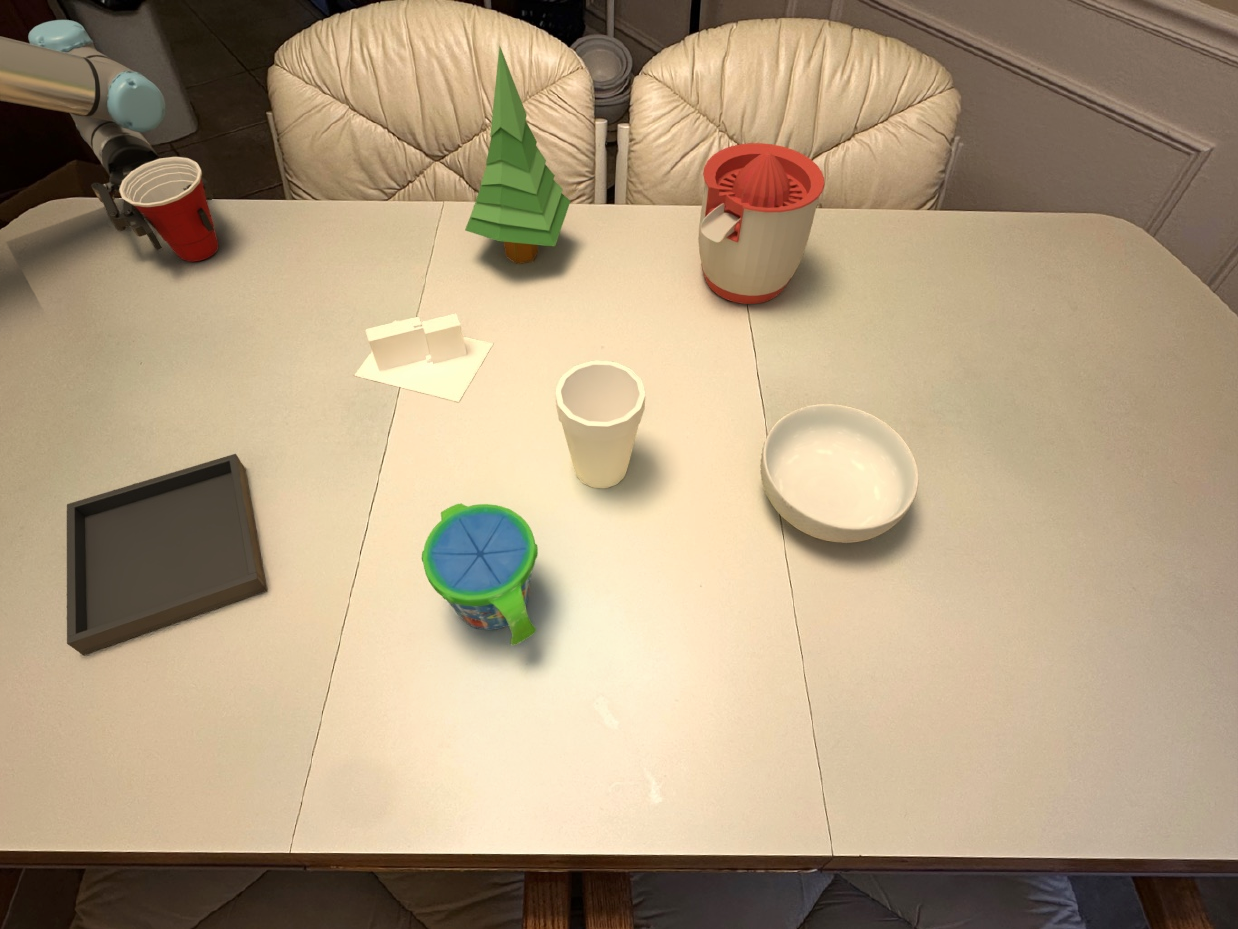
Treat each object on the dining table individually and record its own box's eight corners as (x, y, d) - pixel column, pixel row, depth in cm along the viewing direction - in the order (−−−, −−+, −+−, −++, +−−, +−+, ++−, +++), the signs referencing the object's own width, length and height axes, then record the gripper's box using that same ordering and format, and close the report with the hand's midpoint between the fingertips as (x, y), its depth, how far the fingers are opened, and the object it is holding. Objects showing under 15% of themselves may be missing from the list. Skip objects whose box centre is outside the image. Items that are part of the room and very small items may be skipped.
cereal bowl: (728, 463, 89) (736, 425, 83) (848, 426, 93) (864, 387, 87) (798, 581, 79) (813, 548, 74) (928, 535, 83) (952, 499, 77)
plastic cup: (146, 248, 111) (103, 175, 102) (215, 220, 116) (180, 147, 106) (176, 283, 106) (135, 210, 97) (248, 252, 111) (214, 179, 101)
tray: (80, 517, 83) (66, 503, 81) (245, 467, 87) (235, 453, 85) (82, 655, 73) (66, 643, 71) (267, 591, 78) (257, 578, 75)
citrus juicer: (660, 281, 109) (670, 154, 93) (740, 234, 116) (762, 107, 100) (740, 337, 102) (765, 209, 86) (819, 282, 109) (856, 156, 93)
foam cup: (556, 441, 90) (550, 365, 80) (631, 431, 92) (634, 355, 81) (567, 505, 85) (562, 432, 74) (647, 493, 86) (652, 420, 76)
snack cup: (420, 560, 80) (399, 508, 72) (510, 523, 83) (500, 469, 75) (470, 686, 72) (453, 643, 64) (569, 640, 75) (565, 593, 67)
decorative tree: (582, 273, 110) (576, 64, 86) (477, 290, 107) (440, 79, 83) (562, 220, 118) (552, 14, 94) (463, 234, 115) (426, 27, 91)
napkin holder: (353, 376, 96) (340, 344, 92) (393, 320, 103) (383, 287, 98) (459, 402, 94) (452, 370, 89) (494, 342, 101) (488, 310, 96)
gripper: (203, 161, 121) (259, 229, 110) (75, 202, 113) (122, 280, 102) (182, 115, 115) (239, 183, 104) (46, 156, 107) (93, 234, 96)
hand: (181, 231), depth 103 cm, fingers closed on plastic cup, 6 cm apart
